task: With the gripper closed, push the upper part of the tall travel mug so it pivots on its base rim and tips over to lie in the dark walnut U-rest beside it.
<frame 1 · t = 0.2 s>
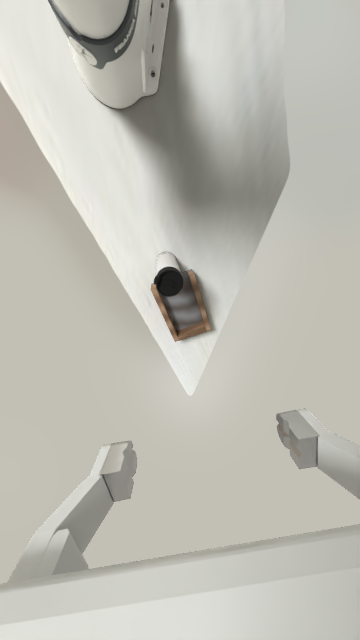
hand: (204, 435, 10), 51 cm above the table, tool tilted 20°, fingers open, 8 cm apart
u rest: (181, 304, 63), on the table
travel mug: (165, 261, 54), on the table
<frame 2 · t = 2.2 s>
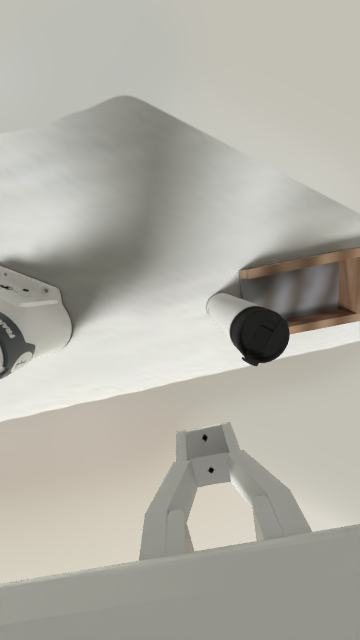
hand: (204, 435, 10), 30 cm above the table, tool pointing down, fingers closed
u rest: (291, 293, 38), on the table
travel mug: (219, 307, 39), on the table
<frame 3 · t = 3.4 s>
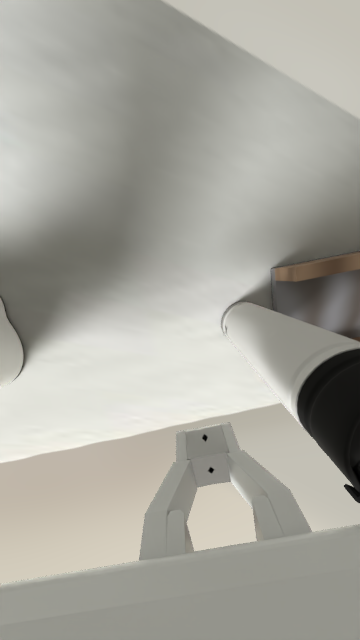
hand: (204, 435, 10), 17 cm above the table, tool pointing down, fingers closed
u rest: (347, 302, 26), on the table
travel mug: (240, 322, 26), on the table
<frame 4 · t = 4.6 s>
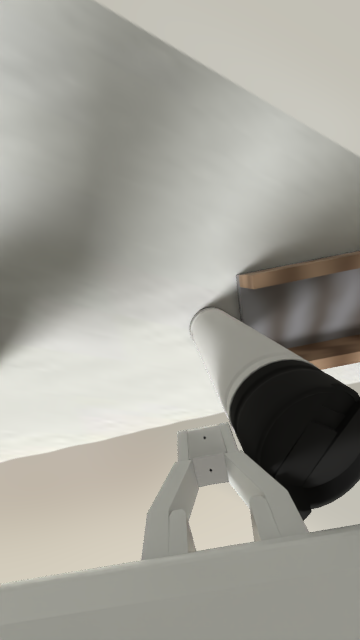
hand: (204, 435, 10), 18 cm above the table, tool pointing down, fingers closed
u rest: (312, 307, 26), on the table
travel mug: (208, 327, 27), on the table, touching gripper
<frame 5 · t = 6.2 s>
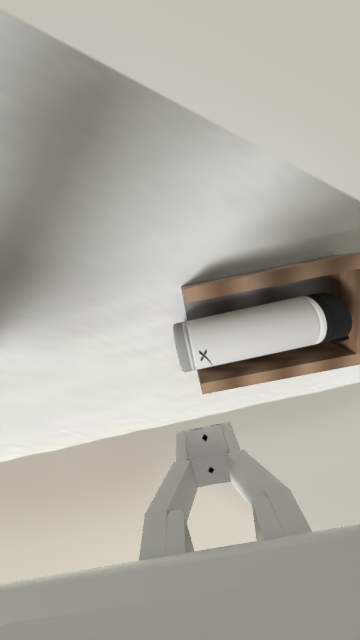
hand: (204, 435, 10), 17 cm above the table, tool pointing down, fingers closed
u rest: (261, 318, 26), on the table
travel mug: (176, 349, 22), point 4 cm above the table, touching u rest
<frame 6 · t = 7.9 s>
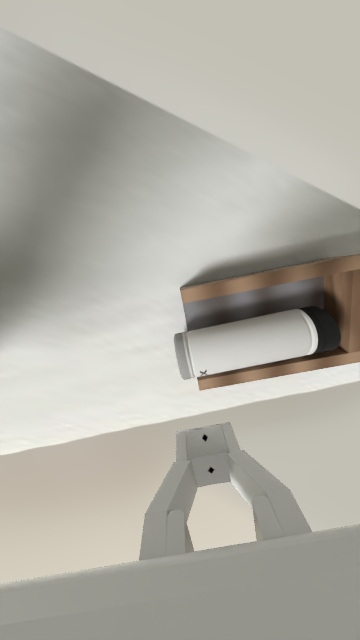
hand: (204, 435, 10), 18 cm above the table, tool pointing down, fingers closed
u rest: (257, 318, 27), on the table
travel mug: (177, 357, 24), point 4 cm above the table, touching u rest
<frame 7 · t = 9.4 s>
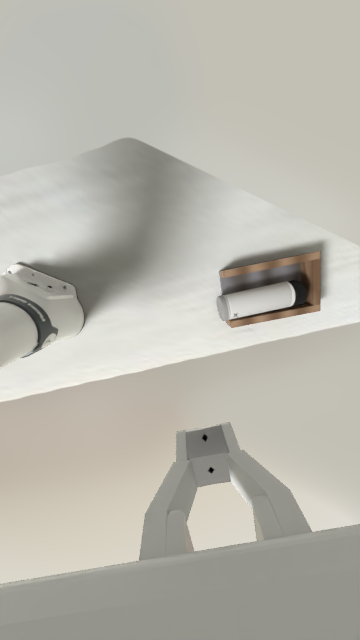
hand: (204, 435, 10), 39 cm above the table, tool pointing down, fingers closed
u rest: (263, 289, 46), on the table
travel mug: (219, 309, 43), point 4 cm above the table, touching u rest
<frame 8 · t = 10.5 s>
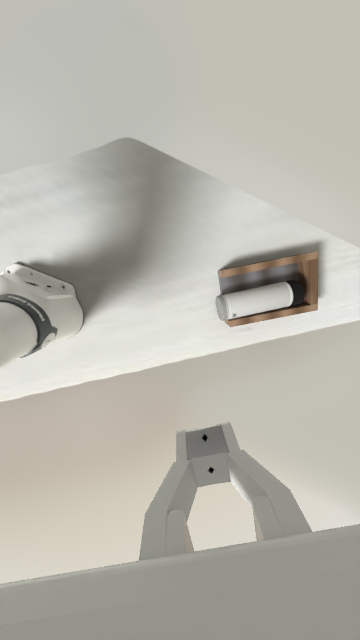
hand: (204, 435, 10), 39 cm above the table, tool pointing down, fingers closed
u rest: (261, 289, 47), on the table
travel mug: (218, 309, 44), point 4 cm above the table, touching u rest
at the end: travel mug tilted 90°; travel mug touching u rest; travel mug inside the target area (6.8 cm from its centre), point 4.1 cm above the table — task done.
